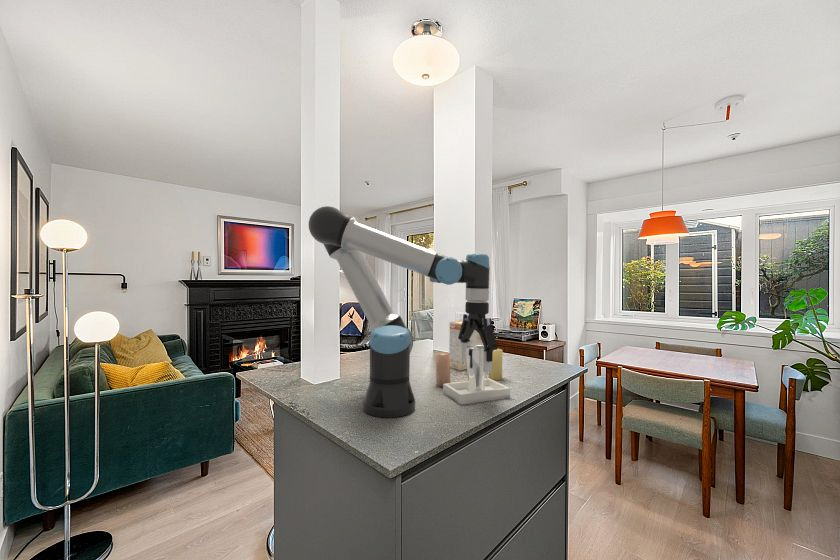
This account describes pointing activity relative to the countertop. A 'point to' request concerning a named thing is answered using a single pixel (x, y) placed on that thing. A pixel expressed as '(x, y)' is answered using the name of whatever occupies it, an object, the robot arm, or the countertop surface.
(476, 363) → the beer glass
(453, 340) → the coffeecake box
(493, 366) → the mustard canister
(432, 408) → the countertop surface
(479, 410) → the countertop surface
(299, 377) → the countertop surface
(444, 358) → the terracotta canister
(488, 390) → the tray
